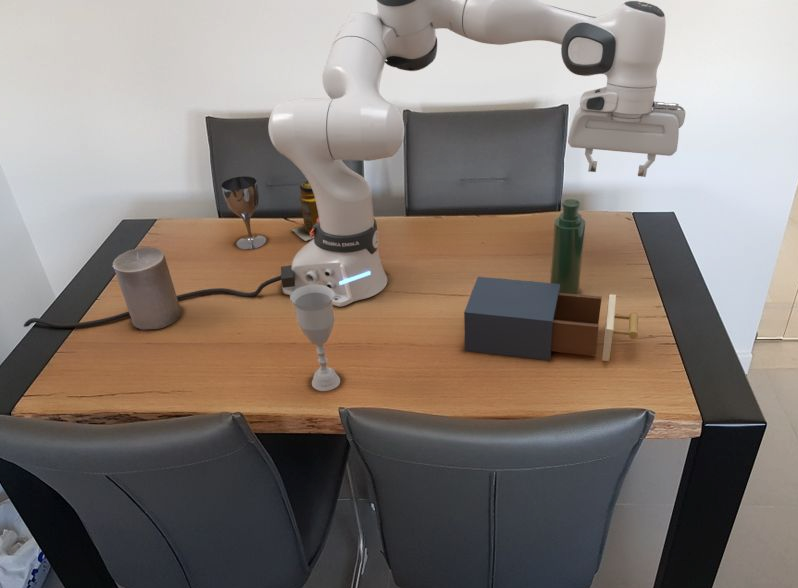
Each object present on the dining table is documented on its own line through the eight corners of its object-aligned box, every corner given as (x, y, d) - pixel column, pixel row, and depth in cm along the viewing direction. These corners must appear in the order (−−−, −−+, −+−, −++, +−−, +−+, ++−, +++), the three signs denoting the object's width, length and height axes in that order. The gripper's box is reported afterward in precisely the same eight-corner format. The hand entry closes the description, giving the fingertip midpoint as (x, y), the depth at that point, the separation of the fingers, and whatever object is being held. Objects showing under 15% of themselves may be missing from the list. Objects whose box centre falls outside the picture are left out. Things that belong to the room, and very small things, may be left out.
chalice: (298, 389, 125) (281, 302, 114) (316, 366, 130) (302, 281, 119) (335, 397, 122) (322, 310, 112) (352, 374, 127) (341, 288, 117)
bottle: (547, 299, 144) (553, 208, 132) (550, 284, 149) (557, 195, 137) (577, 302, 143) (586, 210, 131) (579, 287, 147) (588, 197, 136)
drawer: (635, 327, 133) (640, 296, 129) (634, 364, 124) (639, 332, 120) (534, 317, 138) (536, 287, 134) (526, 352, 129) (528, 320, 125)
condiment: (336, 231, 173) (330, 185, 166) (305, 241, 170) (297, 194, 163) (322, 221, 178) (316, 175, 171) (292, 230, 175) (284, 184, 168)
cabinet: (557, 322, 138) (560, 283, 132) (549, 360, 128) (552, 321, 123) (477, 313, 141) (477, 276, 136) (464, 350, 131) (464, 312, 126)
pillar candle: (166, 299, 151) (147, 236, 143) (190, 316, 146) (171, 251, 137) (124, 318, 146) (101, 254, 137) (146, 336, 140) (124, 270, 132)
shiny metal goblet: (264, 249, 168) (252, 189, 159) (231, 250, 168) (217, 191, 159) (270, 233, 174) (259, 175, 165) (238, 235, 174) (225, 177, 165)
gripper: (686, 100, 132) (671, 173, 139) (574, 92, 136) (565, 164, 143) (688, 107, 127) (672, 183, 134) (572, 99, 131) (563, 173, 138)
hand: (616, 173), depth 139 cm, fingers open, 8 cm apart
